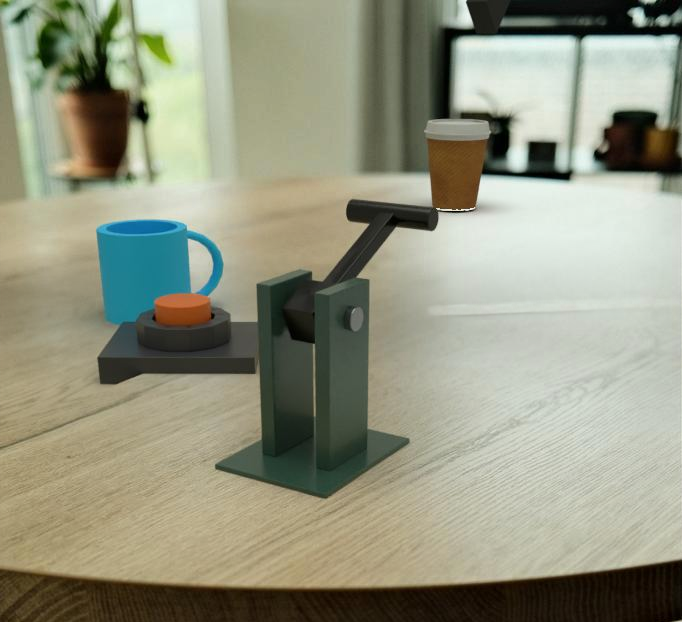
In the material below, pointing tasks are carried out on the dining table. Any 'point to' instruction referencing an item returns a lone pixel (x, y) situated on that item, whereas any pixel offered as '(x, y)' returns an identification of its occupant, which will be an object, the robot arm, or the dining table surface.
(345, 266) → the switch lever
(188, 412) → the dining table surface
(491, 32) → the robot arm
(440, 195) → the disposable coffee cup
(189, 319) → the button
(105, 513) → the dining table surface
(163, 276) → the mug
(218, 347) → the control block
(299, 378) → the green crank press stand
